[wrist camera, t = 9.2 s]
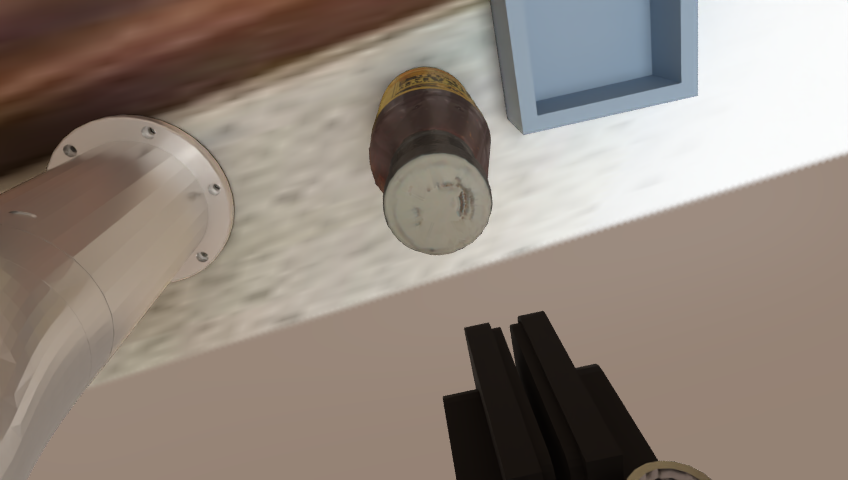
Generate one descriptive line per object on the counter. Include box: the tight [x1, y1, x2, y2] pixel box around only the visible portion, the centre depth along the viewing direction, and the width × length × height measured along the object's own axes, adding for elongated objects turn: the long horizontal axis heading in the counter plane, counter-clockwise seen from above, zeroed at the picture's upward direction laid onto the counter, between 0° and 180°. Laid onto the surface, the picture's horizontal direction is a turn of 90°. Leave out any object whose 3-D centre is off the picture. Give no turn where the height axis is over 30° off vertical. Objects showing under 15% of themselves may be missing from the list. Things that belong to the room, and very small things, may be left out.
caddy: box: [490, 0, 698, 135], centre depth 33 cm, size 11×12×5 cm
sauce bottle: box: [369, 67, 492, 255], centre depth 28 cm, size 6×6×20 cm
